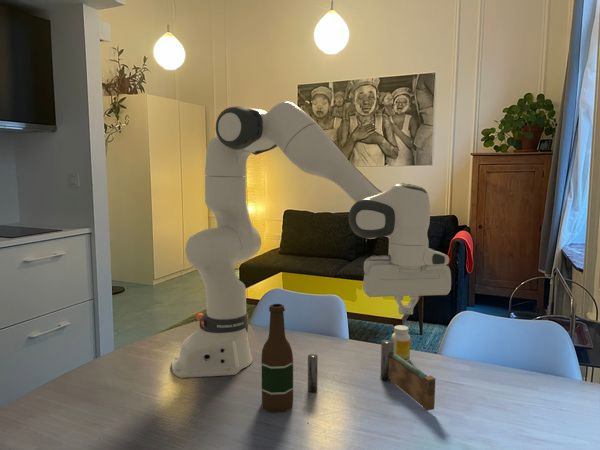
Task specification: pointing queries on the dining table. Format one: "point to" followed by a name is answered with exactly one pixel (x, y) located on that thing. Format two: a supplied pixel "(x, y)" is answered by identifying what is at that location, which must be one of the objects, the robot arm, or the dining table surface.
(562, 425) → the dining table surface
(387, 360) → the posts
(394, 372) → the brown wooden panel
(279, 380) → the beer bottle
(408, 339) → the supplement bottle
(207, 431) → the dining table surface
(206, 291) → the robot arm
